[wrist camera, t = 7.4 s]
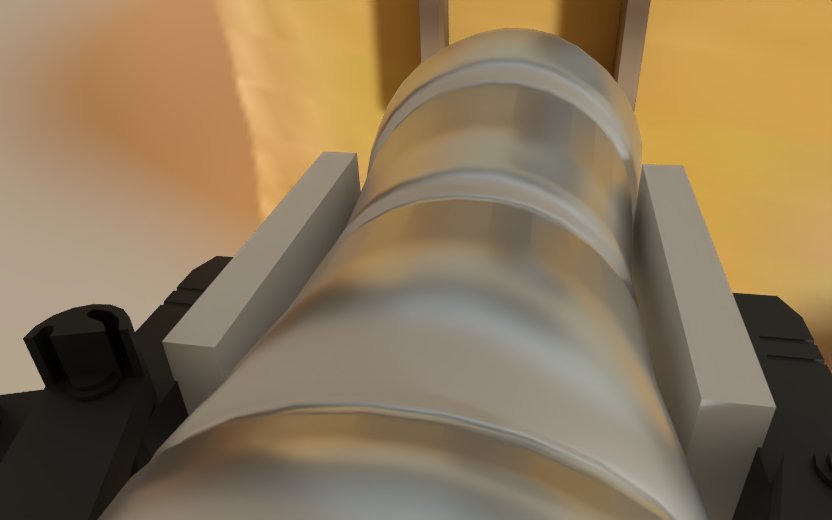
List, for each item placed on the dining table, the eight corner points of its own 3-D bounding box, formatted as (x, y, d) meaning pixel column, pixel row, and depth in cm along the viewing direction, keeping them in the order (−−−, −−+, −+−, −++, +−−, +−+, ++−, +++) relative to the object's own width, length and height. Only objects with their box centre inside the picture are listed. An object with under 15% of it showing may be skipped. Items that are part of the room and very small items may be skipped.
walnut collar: (625, 117, 35) (630, 136, 33) (433, 112, 37) (423, 130, 35) (661, -136, 29) (670, -135, 26) (426, -124, 31) (414, -123, 28)
